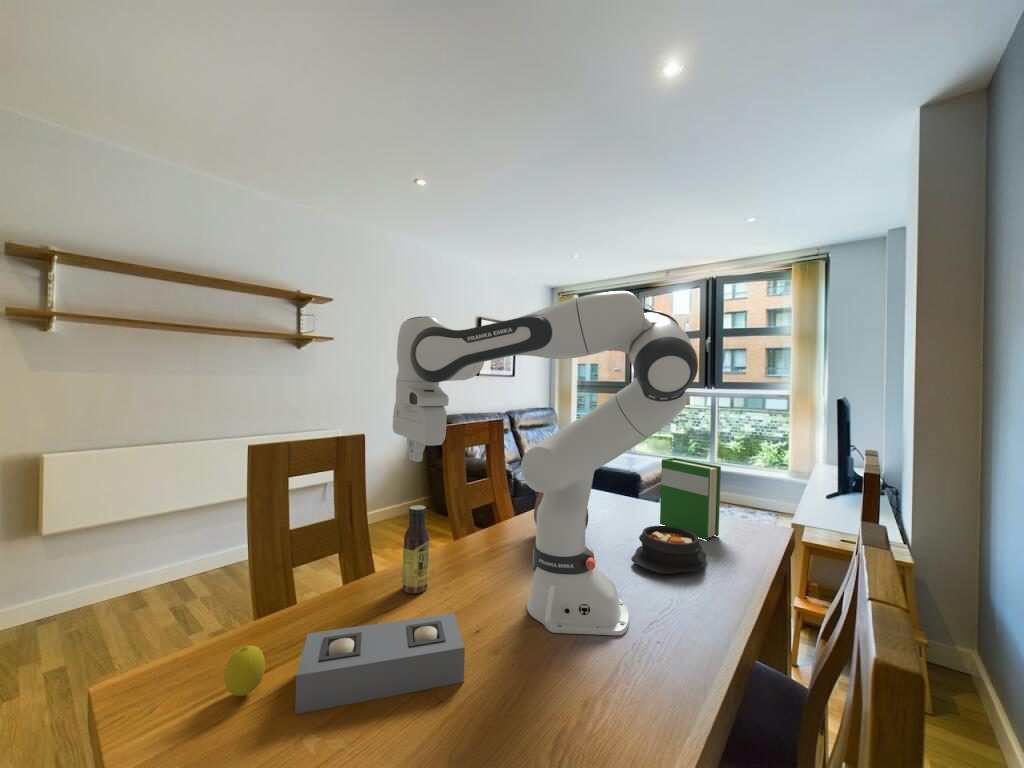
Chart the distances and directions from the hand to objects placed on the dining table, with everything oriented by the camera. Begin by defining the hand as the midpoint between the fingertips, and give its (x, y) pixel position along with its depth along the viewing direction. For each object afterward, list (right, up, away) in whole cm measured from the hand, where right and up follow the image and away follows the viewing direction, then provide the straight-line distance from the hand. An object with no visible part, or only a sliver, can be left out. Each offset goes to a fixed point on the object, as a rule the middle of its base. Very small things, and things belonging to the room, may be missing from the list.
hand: (415, 460), depth 90 cm
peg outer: (-9, -34, -18) cm, 39 cm away
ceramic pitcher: (+35, -34, +50) cm, 70 cm away
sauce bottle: (-3, -34, +14) cm, 37 cm away
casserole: (+65, -36, +33) cm, 81 cm away
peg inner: (+5, -34, -14) cm, 37 cm away
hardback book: (+82, -35, +59) cm, 107 cm away
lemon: (-23, -34, -21) cm, 46 cm away
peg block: (-2, -34, -16) cm, 38 cm away
